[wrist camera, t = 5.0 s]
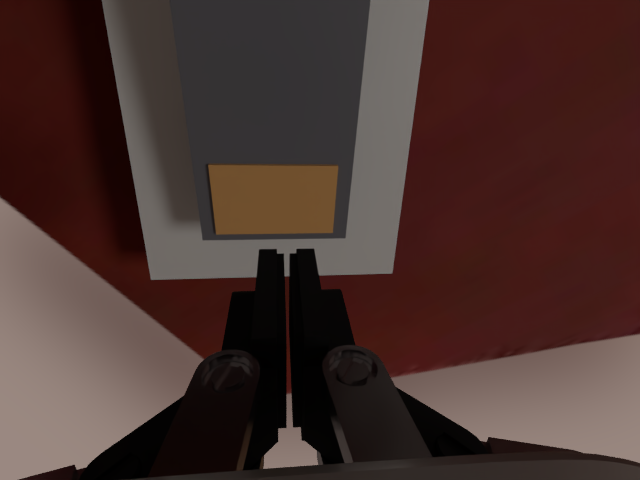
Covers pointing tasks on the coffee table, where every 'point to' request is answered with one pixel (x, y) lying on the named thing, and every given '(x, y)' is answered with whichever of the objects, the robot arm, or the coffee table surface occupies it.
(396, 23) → the switch box
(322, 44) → the rocker switch
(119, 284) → the coffee table surface
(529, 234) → the coffee table surface
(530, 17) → the coffee table surface
